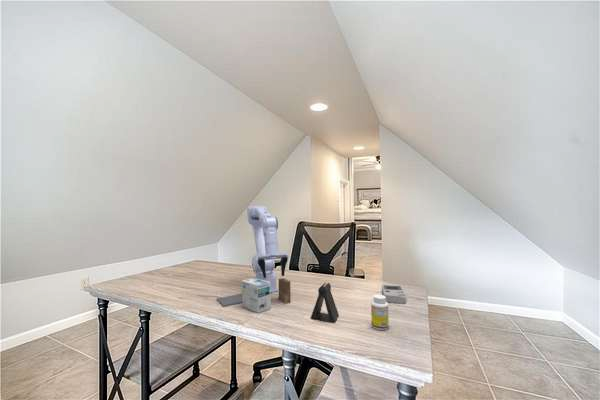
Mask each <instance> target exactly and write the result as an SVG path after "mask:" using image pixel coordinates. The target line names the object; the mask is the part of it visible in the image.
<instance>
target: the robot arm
mask: <svg viewBox="0 0 600 400" xmlns="http://www.w3.org/2000/svg"><path fill="white" fill-rule="evenodd" d="M246 213H247V220H248V225H250V226H252V230H253V236H254V243H255V248H256V249H255V250H256V253H255V254H254V255H253V256H252V260H251V261H252V265H251V266H252V271H253V273H255V278H257V279H261V280H265V281H269V282H271V293H274V292H278V289H277V274H276V272H275V271H274V270H275V265H276V264H275V260H280V262H279V263H280V269H281V270H280V271H281V272H280V273H281V277H284V276H285V271H286V265H287V263H288V260H289V258H290V253H289V252H287V253H286V252H285V253H280V252H279V239H278V228H279V219H278V218H277V216H272V215H271V213H270V212H269V211H268V207H267V206H266V205H264V206H262V205H261V206H259V205H258V206H257V205H256V206H255V205H253V206H252V205H249V206H248V207H247V211H246Z"/></svg>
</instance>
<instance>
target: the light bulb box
mask: <svg viewBox="0 0 600 400" xmlns="http://www.w3.org/2000/svg"><path fill="white" fill-rule="evenodd" d="M241 281H242V282H241V283H242V285H241V286H242V289H241V290H242V291H241V292H242V293H241V294H242V303H241V305H242V307H243V308H246V309H248V310H250V311H251V312H252V311H253V312H255V313H258V314H259V313H262V312H264V311H267V310H270V309H271V308H272V302H271V301H272V300H271V298H272V297H271V296H272V295H271V294H272V292H271V282H269V281H265V280H261V279H257V278H256V277H251V278H247V279H243V280H241Z"/></svg>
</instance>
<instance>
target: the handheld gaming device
mask: <svg viewBox="0 0 600 400" xmlns="http://www.w3.org/2000/svg"><path fill="white" fill-rule="evenodd" d="M381 293H382V295H383V296H385V297H386V302H387V303H390V304H391V303H393V304H406V303H407V297H406V293H405V291H404V289H403V286H401V285H394V284H393V285H389V284H382V285H381Z"/></svg>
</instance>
